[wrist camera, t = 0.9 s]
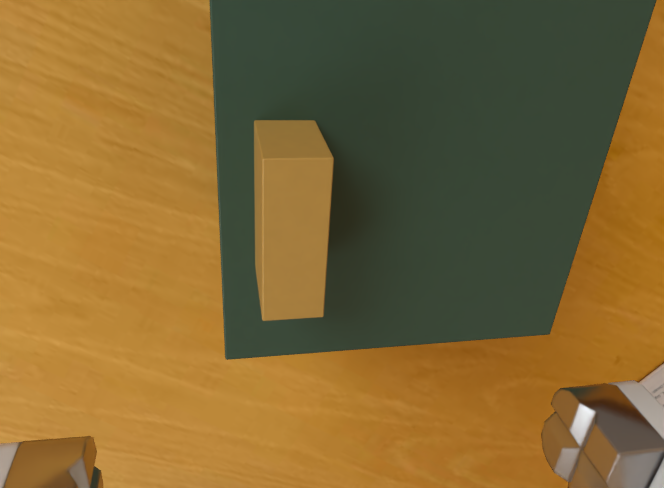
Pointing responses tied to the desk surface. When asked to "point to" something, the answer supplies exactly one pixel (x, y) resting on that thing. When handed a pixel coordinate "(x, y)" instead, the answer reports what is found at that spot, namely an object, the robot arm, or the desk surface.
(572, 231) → the lid
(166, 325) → the desk surface
